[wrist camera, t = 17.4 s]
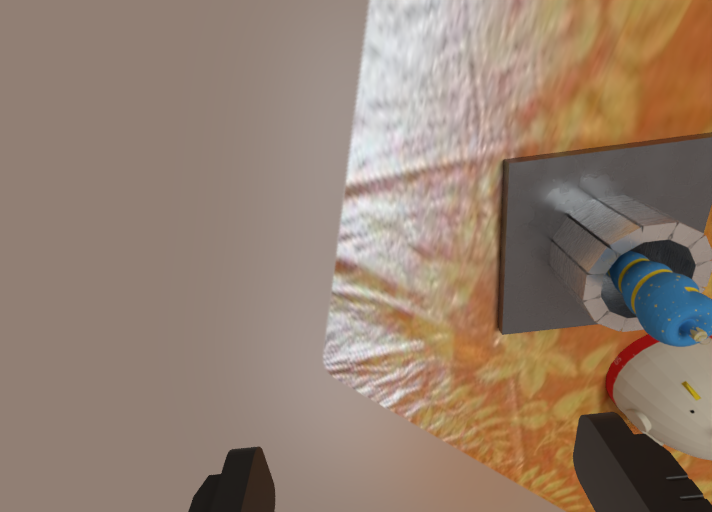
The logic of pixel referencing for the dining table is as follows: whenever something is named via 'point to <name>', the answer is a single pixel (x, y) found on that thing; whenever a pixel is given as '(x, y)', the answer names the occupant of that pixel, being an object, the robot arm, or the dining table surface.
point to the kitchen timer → (666, 392)
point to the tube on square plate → (599, 228)
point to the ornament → (663, 300)
